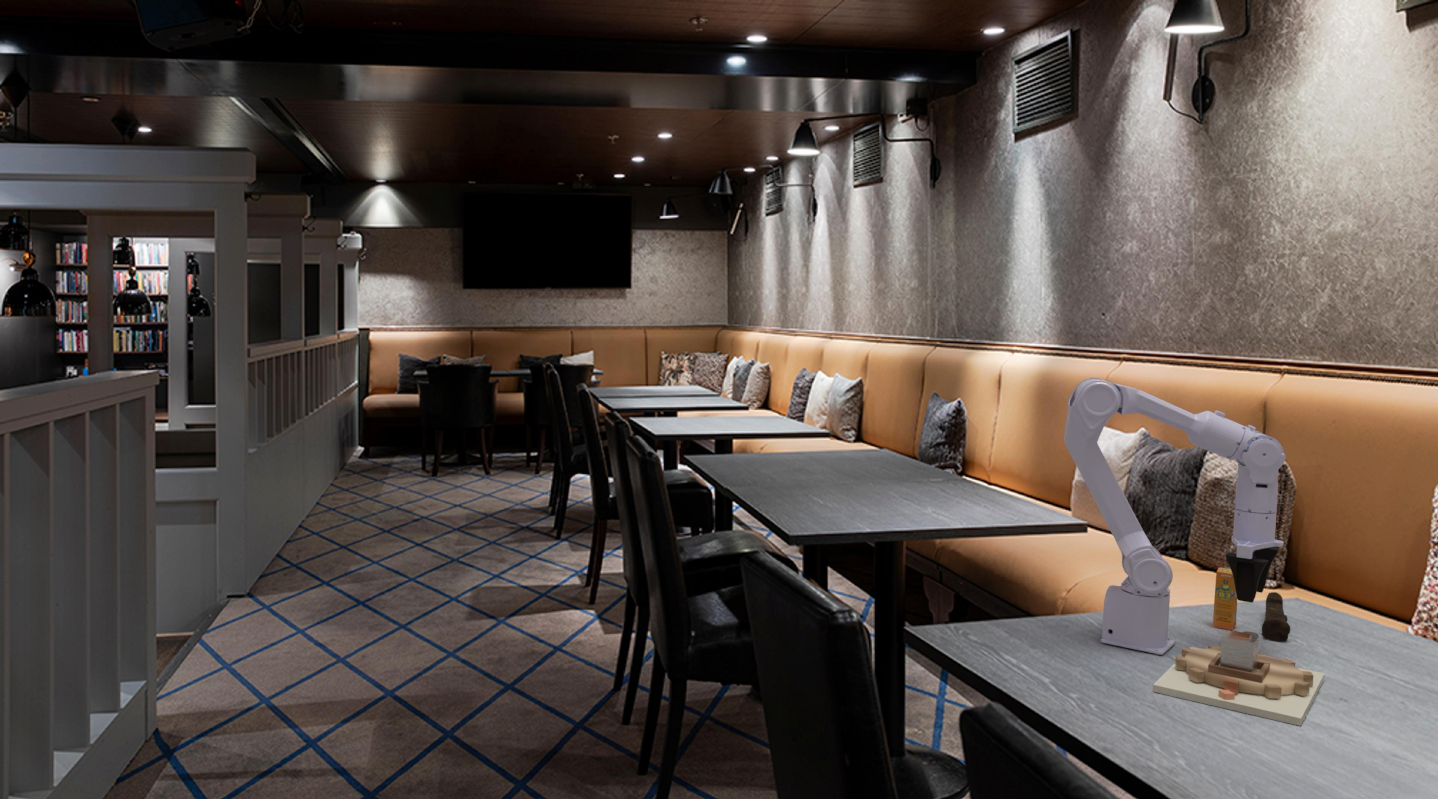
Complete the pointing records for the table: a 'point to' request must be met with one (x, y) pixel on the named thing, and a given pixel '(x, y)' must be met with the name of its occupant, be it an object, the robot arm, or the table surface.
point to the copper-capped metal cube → (1239, 651)
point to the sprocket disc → (1245, 673)
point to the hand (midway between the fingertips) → (1250, 596)
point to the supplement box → (1225, 600)
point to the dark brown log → (1275, 619)
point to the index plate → (1240, 696)
